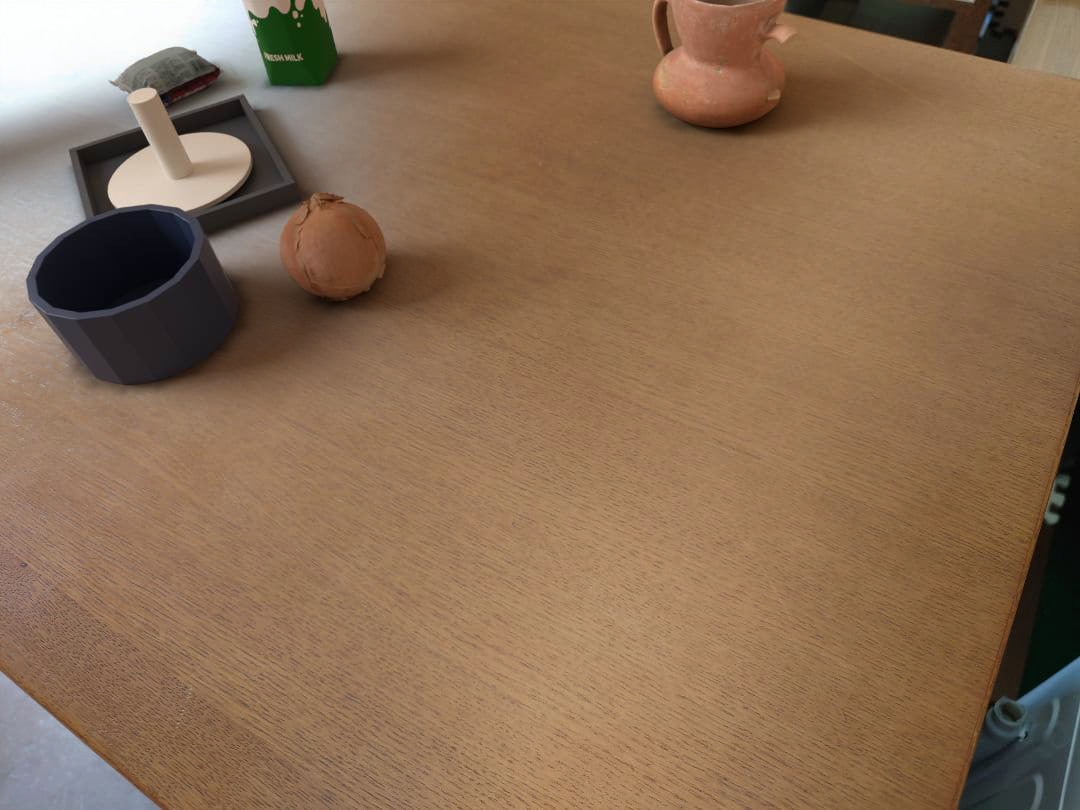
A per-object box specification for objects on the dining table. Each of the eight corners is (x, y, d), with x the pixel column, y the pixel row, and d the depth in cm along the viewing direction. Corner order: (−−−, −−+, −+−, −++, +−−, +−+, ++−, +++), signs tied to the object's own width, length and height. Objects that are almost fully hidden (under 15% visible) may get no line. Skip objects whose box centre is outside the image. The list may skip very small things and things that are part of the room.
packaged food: (118, 100, 100) (99, 63, 96) (200, 63, 105) (185, 27, 101) (149, 124, 96) (130, 87, 92) (233, 86, 101) (218, 48, 97)
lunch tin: (71, 310, 75) (19, 241, 68) (219, 256, 79) (183, 185, 72) (92, 411, 66) (35, 343, 60) (257, 345, 70) (220, 274, 63)
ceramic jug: (816, 107, 88) (845, -26, 77) (731, 162, 82) (749, 27, 71) (695, 55, 97) (706, -70, 86) (612, 102, 91) (612, -26, 80)
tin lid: (103, 170, 89) (53, 86, 81) (235, 126, 93) (200, 42, 85) (125, 243, 80) (72, 157, 72) (271, 192, 84) (235, 105, 76)
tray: (80, 168, 91) (68, 149, 89) (251, 113, 96) (243, 93, 94) (107, 273, 78) (94, 252, 76) (302, 202, 83) (294, 182, 81)
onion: (342, 285, 79) (313, 186, 75) (417, 282, 75) (390, 176, 70) (276, 318, 72) (240, 210, 67) (355, 317, 67) (321, 201, 63)
